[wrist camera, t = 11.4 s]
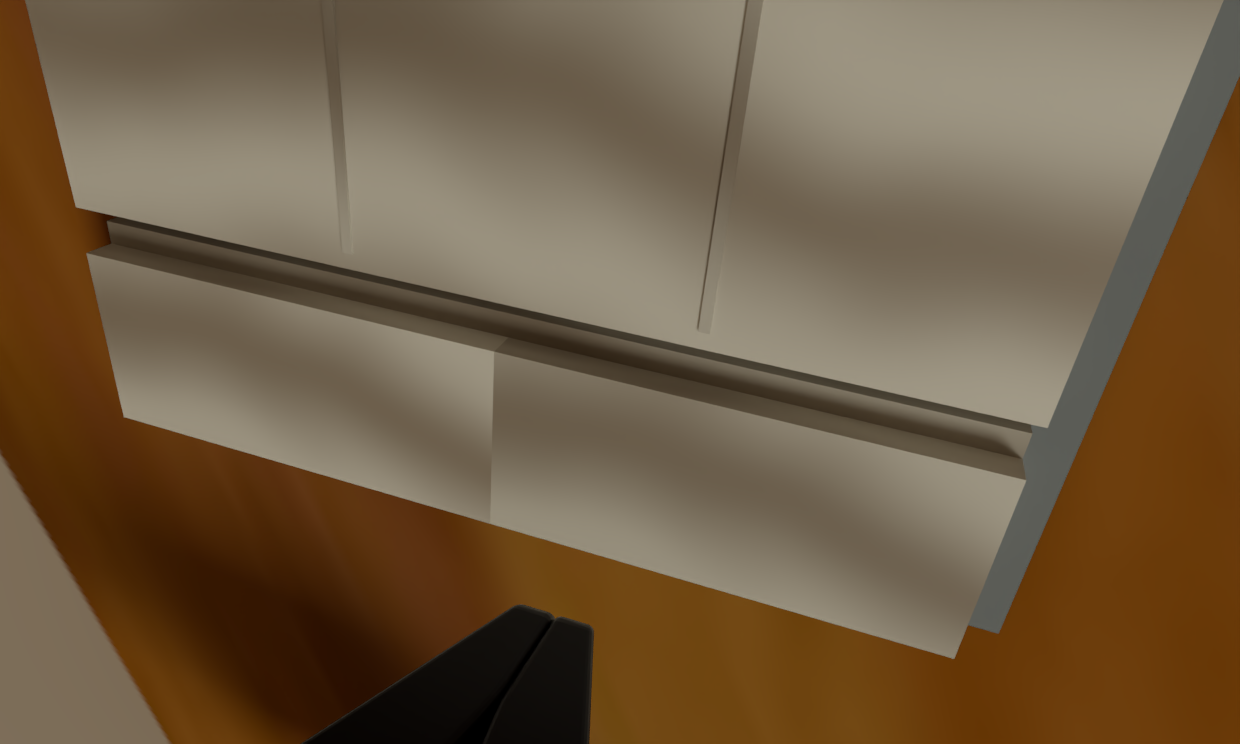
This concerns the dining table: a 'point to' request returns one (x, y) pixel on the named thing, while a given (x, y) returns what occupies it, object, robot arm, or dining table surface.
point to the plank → (662, 161)
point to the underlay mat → (1114, 313)
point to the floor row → (570, 430)
